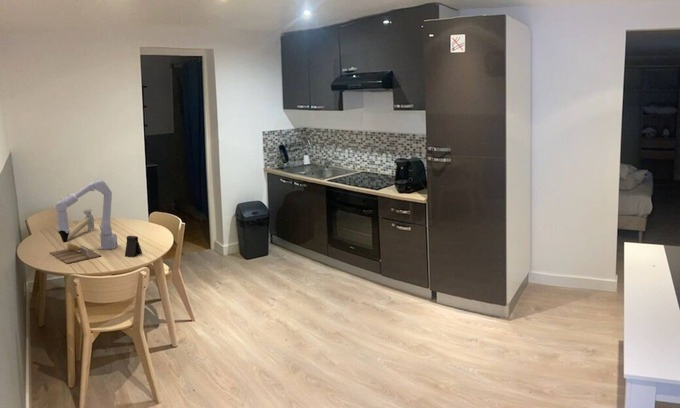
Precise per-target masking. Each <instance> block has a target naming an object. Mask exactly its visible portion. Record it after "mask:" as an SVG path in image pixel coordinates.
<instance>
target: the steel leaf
mask: <svg viewBox="0 0 680 408" xmlns="http://www.w3.org/2000/svg"><path fill="white" fill-rule="evenodd" d="M78 253H79V254H82V255H84V256H86V257H89V255H88V250H87V249H85V248H83V247H80V250H78Z"/></svg>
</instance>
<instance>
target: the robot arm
mask: <svg viewBox="0 0 680 408" xmlns="http://www.w3.org/2000/svg"><path fill="white" fill-rule="evenodd" d="M95 191H97V192H99V193H101V194H102V195H103V199H102V200H103V201H102V202H103V205H102V217H101V223H100V226H99V230H100V233H99V236H100V237H99V238H100V247H99V248H98V250H114V249H115V248H117V247H118V246H119V244H118V236H117V234H116V233H113V232H112V231H113V229H112V227H111V214H112V213H111V212H112V198H113V192H112V190H111V188H109V186H108V185H107V183H106V182H105V181H104V180H103V179H100V178H97V179H95V180H94V181H91V182H89V183H88V184H86V185H85V186H83V187H82V188H81V189H79V190H78V191H77V192H75V193H68V194H67V195H66V197H64V198H63V199H60V200H59V201H57V202H56V204H55V209H56V219H57V228H56V231H57V233H58V235H59V237H60V238H61V240H62V243H67V242H68V241H69V240H68V235H69V233H70V230H71V229H70V226H69V220H68V219H69V217H68V212H67V209H68V208H69V207H71V206H73V205H74V204H76V203H77V202H78V200H79V198H81V197H83V196H84V195H86V194H88V193H89V192H95ZM67 240H68V241H67Z"/></svg>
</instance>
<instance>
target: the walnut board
mask: <svg viewBox="0 0 680 408" xmlns="http://www.w3.org/2000/svg"><path fill="white" fill-rule="evenodd" d="M81 246H82V247H83V248H85V249H87V250H88V255H89V257H86V256H84V255H82V254H79V253H78V252H75V251H71V250H68V248H66V249H65V248H64V249H61V250H55V251H49V254H50V255H51V256H52V257H54V256H55V257H54V258H56V259H57V260H59V261H61V262H62V261H63V262H62V263H64V264H65V265H70V264H74V263H79V262H83V261H88V260H92V259H97V258H102V255H101V254H99V253H97V252H95V251H94V250H91V249H89V248H88V247H86V246H84V245H81Z"/></svg>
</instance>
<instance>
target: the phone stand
mask: <svg viewBox="0 0 680 408" xmlns="http://www.w3.org/2000/svg"><path fill="white" fill-rule="evenodd" d="M141 254H143V250H142V248H141V245H140V242H139V236H136V235H127V236H126V244H125V252H124V257H126V258H127V257H128V258H135V257H137V256H139V255H141Z"/></svg>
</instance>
